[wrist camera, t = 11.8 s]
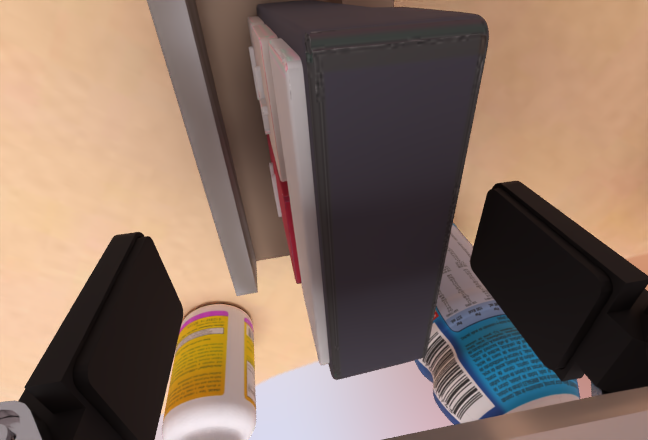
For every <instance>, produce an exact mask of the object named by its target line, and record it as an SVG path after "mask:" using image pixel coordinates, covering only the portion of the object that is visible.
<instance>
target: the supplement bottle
mask: <svg viewBox="0 0 648 440" xmlns="http://www.w3.org/2000/svg"><path fill="white" fill-rule="evenodd" d="M255 424H256V398H255V365H254V334H253V324H252V321H251V319H250V317H249V316H248V314H247V313H245V312H244V311H243V310H241V309H239V308H237V307H234V306H231V305H225V304H213V305H207V306H204V307H201V308H198V309H196V310H194V311H193V312H191V313H190V314H189V315H188V316H187V317H186V318H185V319H184V321H183V322H182V324H181V328H180V332H179V337H178V341H177V347H176V353H175V358H174V364H173V369H172V375H171V381H170V386H169V392H168V397H167V403H166V408H165V414H164V419H163V425H162V438H163V440H248V439H249V438H250V436H251V435H252V433H253V431H254V428H255Z"/></svg>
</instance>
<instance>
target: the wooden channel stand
mask: <svg viewBox="0 0 648 440" xmlns="http://www.w3.org/2000/svg"><path fill="white" fill-rule="evenodd" d="M289 1H302V0H147V2H148V5H149V9H150V12H151V15H152V19H153V22H154V25H155V28H156V32H157V35H158V38H159V42H160V45H161V48H162V52H163V55H164V58H165V61H166V65H167V68H168V71H169V75H170V78H171V81H172V84H173V88H174V91H175V94H176V98H177V101H178V104H179V107H180V111H181V114H182V117H183V121H184V124H185V127H186V130H187V134H188V137H189V140H190V144H191V147H192V150H193V154H194V157H195V160H196V163H197V167H198V170H199V173H200V177H201V180H202V183H203V186H204V190H205V193H206V196H207V200H208V203H209V206H210V209H211V213H212V216H213V219H214V223H215V226H216V229H217V232H218V236H219V239H220V242H221V246H222V249H223V252H224V255H225V259H226V262H227V265H228V269H229V272H230V275H231V279H232V282H233V285H234V288H235V292H236V295H237V296H240V295H245V294H251V293H256V292H258V291H257V268H256V261H258V260H264V259H270V258H276V257H282V256H288V255H290V252H289V247H288V243H287V238H286V234H285V229H284V224H283V220H282V217H279V216H278V211H277V205H276V201H275V195H274V189H273V184H272V178H271V172H270V166H269V163H271V158H270V152H269V146H268V140H267V134H265V129H264V123H263V117H262V112H261V106H260V101H259V100H258V99H257V93H256V88H255V82H254V76H253V70H252V64H251V59H250V53H249V47H251V46H252V45H251V39H250V33H249V27H248V17H254V16H257V10H256V7H257V5H258V4H265V3H276V2H289ZM314 1H322V2H331V3H339V4H347V5H356V6H364V7H394V0H314Z"/></svg>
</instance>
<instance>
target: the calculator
mask: <svg viewBox="0 0 648 440" xmlns="http://www.w3.org/2000/svg"><path fill="white" fill-rule="evenodd" d="M256 10H257V16H254V17H248V27H249V33H250V39H251V45H252V46H251V47H249V53H250V59H251V64H252V70H253V76H254V82H255V88H256V93H257V99H258V100H259V101H260V106H261V112H262V117H263V123H264V129H265V134H267V140H268V146H269V152H270V158H271V163H269V166H270V172H271V178H272V184H273V189H274V195H275V201H276V205H277V211H278V216H279V217H282V220H283V224H284V229H285V234H286V238H287V243H288V247H289V252H290V257H291V261H292V266H293V271H294V275H295V279H296V283H297V284H299V283H302V289H303V295H304V299H305V304H306V308H307V312H308V317H309V321H310V325H311V330H312V334H313V338H314V342H315V347H316V351H317V355H318V359H319V363H320V364H321V365H325V364H329V367H330V371H331V375H332V377H333V378H334V379H336V380H338V379H342V378H347V377H350V376H355V375H358V374H363V373H367V372H371V371H374V370H379V369H382V368H386V367H390V366H394V365H398V364H402V363H406V362H410V361H413V360H417V359H421V358H424V357H425V356H426V354H427V349H428V345H429V340H430V335H431V329H432V324H433V319H434V314H435V309H436V304H437V299H438V294H439V289H440V284H441V279H442V274H443V269H444V264H445V259H446V254H447V249H448V244H449V239H450V234H451V229H452V224H453V219H454V214H455V209H456V204H457V199H458V194H459V189H460V184H461V179H462V174H463V169H464V164H465V158H466V153H467V148H468V143H469V138H470V133H471V128H472V123H473V118H474V113H475V108H476V103H477V98H478V93H479V88H480V83H481V78H482V73H483V68H484V63H485V58H486V52H487V47H488V40H489V31H488V26H487V23H486V21H485V20H484V19H483V18H482V17H481V16H479V15H477V14H471V13H463V12H453V11H442V10H431V9H419V8H408V7H364V6H356V5H347V4H339V3H331V2H322V1H314V0H302V1H289V2H276V3H265V4H258V5H257V7H256Z"/></svg>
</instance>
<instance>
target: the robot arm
mask: <svg viewBox="0 0 648 440" xmlns="http://www.w3.org/2000/svg"><path fill="white" fill-rule="evenodd" d="M470 265H471V269H472V271H473V272H474V274H475V275H476V276H477V278H478V279H479V280H480V281H481V283H482V284H483V285H484V287H485V288H486V289H487V291H488V292H489V293H490V295H491V296H492V297H493V299H494V300H495V301H496V303H497V304H498V305H499V307H500V308H501V309H502V310H503V312H504V313H505V314H506V316H507V317H508V318H509V320H510V321H511V322H512V324H513V325H514V326H515V328H516V329H517V330H518V332H519V333H520V334H521V336H522V337H523V338H524V339H525V341H526V342H527V343H528V345H529V346H530V347H531V349H532V350H533V351H534V353H535V354H536V355H537V357H538V358H539V359H540V361H541V362H542V363H543V364H544V365H545V367H547V368H548V369H550V370H553V371H554V372H555V374H556V375H557V376H558V378H559V379H560V380H561V382H563V381H568V380H573V379H578V378H582V377H583V375H584V374H585V375H586V376H587V377H588V378H589V379H590V380H591V390H592V391H591V392H592V397H589V398H584V399H579V400H574V401H569V402H564V403H559V404H554V405H549V406H544V407H539V408H534V409H529V410H524V411H519V412H514V413H509V414H505V415H500V416H495V417H490V418H485V419H480V420H475V421H470V422H465V423H461V424H456V425H451V426H447V427H442V428H437V429H432V430H427V431H422V432H417V433H412V434H407V435H403V436H398V437H393V438H388V439H384V440H648V291H647V290H646V289H645V288H646V286H647V285H648V276H647V275H646V274H645V273H643V272H642V271H641V270H639V269H638V268H636V267H635V266H634V265H632V264H631V263H629V262H628V261H627V260H626V259H624V258H623V257H622V256H620V255H619V254H617V253H616V252H615V251H613V250H612V249H611V248H609V247H608V246H607V245H605V244H604V243H603V242H601V241H600V240H598V239H597V238H596V237H594V236H593V235H592V234H590V233H589V232H588V231H586V230H585V229H584V228H582V227H581V226H579V225H578V224H577V223H575V222H574V221H573V220H571V219H570V218H569V217H567V216H566V215H565V214H563V213H562V212H560V211H559V210H558V209H556V208H555V207H554V206H552V205H551V204H550V203H548V202H547V201H546V200H544V199H543V198H541V197H540V196H539V195H537V194H536V193H535V192H533V191H532V190H531V189H529V188H528V187H526V186H525V185H524V184H522V183H521V182H519V181H511V182H504V183H497V184H495V185H494V186H493V188H492V189H491V190H489V191H488V193H487V196H486V200H485V204H484V208H483V212H482V216H481V219H480V223H479V227H478V231H477V235H476V239H475V243H474V246H473V250H472V254H471V258H470ZM182 319H183V308H182V304H181V302H180V300H179V298H178V296H177V293H176V291H175V289H174V287H173V284H172V282H171V280H170V278H169V276H168V273H167V271H166V269H165V267H164V265H163V262H162V260H161V258H160V256H159V253H158V251H157V249H156V247H155V245H154V242H153V240H152V239H151V238H150V237H149V236H147V237H144V235H143V234H142V233H140V232H135V233H128V234H121V235H116V236H114V237H113V238H112V240H111V242H110V243H109V245H108V247H107V248H106V250H105V252H104V254H103V255H102V257H101V259H100V260H99V262H98V264H97V265H96V267H95V269H94V270H93V272H92V274H91V276H90V277H89V279H88V281H87V282H86V284H85V286H84V287H83V289H82V291H81V292H80V294H79V296H78V298H77V299H76V301H75V303H74V304H73V306H72V308H71V309H70V311H69V313H68V314H67V316H66V318H65V320H64V321H63V323H62V325H61V326H60V328H59V330H58V331H57V333H56V335H55V336H54V338H53V340H52V342H51V343H50V345H49V347H48V348H47V350H46V352H45V353H44V355H43V357H42V358H41V360H40V362H39V364H38V365H37V367H36V369H35V370H34V372H33V374H32V375H31V377H30V379H29V381H28V382H27V384H26V386H25V387H24V388H26V389H25V391H24V392H23V394H22V396H21V398H20V399H19V401H6V402H0V440H154V439H155V435H156V431H157V427H158V422H159V418H160V414H161V410H162V405H163V401H164V397H165V392H166V388H167V384H168V380H169V375H170V371H171V367H172V362H173V358H174V354H175V350H176V345H177V341H178V337H179V332H180V328H181V324H182Z"/></svg>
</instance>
